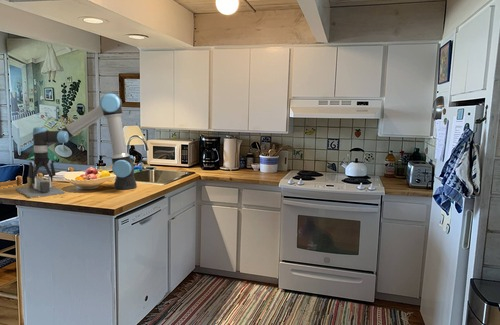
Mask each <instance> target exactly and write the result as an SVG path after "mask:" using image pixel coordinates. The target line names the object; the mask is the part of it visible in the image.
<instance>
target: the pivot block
mask: <svg viewBox="0 0 500 325" xmlns="http://www.w3.org/2000/svg"><path fill="white" fill-rule="evenodd" d="M35 178H41V179H42V176H40V175H39V176H38V175H36V176H35ZM26 180H27V187H28V188H33V184H32V178H29V177H28V176H27V177H26Z"/></svg>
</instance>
